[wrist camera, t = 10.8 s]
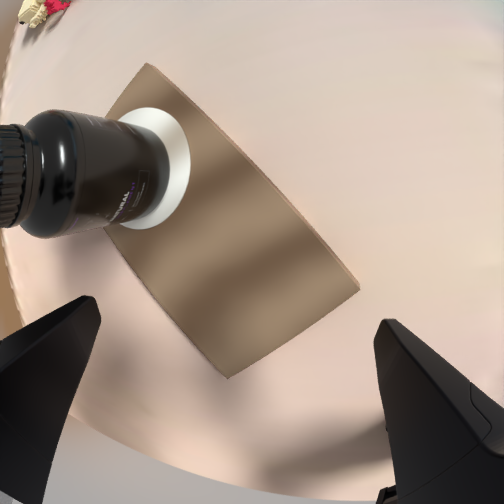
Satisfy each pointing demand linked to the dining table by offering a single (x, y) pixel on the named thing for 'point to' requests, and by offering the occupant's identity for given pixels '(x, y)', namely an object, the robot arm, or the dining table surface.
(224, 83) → the dining table surface
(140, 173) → the supplement bottle
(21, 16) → the cat figure
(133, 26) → the dining table surface
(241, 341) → the walnut board
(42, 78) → the dining table surface
